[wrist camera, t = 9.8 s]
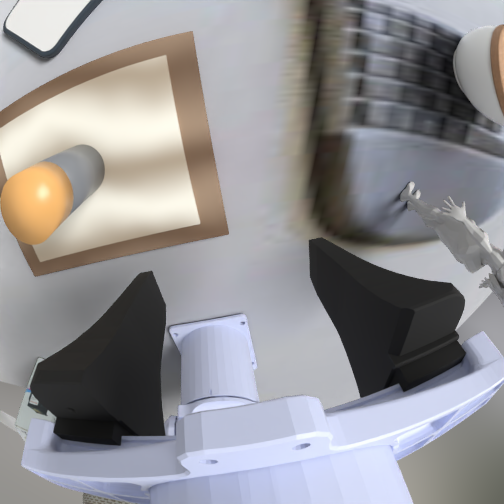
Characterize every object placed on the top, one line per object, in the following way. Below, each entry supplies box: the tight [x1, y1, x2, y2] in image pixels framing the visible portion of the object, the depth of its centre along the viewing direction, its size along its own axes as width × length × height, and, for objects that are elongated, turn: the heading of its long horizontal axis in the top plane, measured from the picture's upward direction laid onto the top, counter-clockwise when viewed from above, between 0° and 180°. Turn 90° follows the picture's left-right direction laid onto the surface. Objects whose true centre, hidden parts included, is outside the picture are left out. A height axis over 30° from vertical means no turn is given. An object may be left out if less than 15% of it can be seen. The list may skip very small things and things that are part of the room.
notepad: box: [0, 31, 229, 277], centre depth 18 cm, size 16×20×1 cm
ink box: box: [15, 357, 57, 442], centre depth 25 cm, size 9×5×12 cm, turn 153°
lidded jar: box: [453, 25, 504, 126], centre depth 13 cm, size 11×11×9 cm
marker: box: [0, 144, 105, 245], centre depth 14 cm, size 4×4×8 cm
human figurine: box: [400, 182, 504, 306], centre depth 16 cm, size 12×4×18 cm, turn 51°
